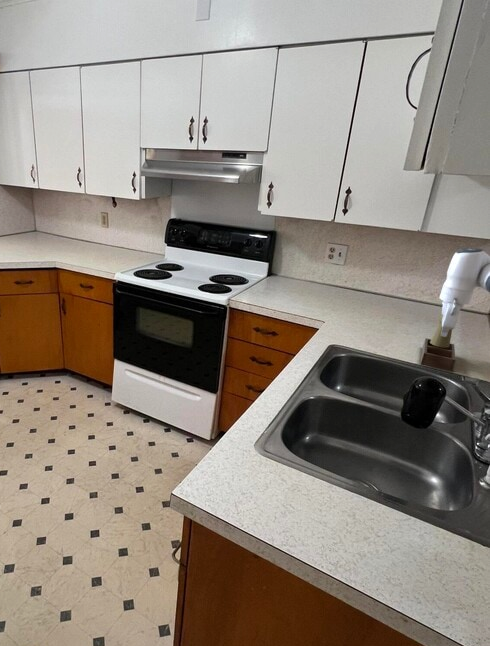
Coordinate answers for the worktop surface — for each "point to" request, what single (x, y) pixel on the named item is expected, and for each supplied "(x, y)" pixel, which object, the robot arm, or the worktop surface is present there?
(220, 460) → the worktop surface
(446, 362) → the rack
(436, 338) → the cork
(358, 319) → the worktop surface
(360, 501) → the worktop surface
